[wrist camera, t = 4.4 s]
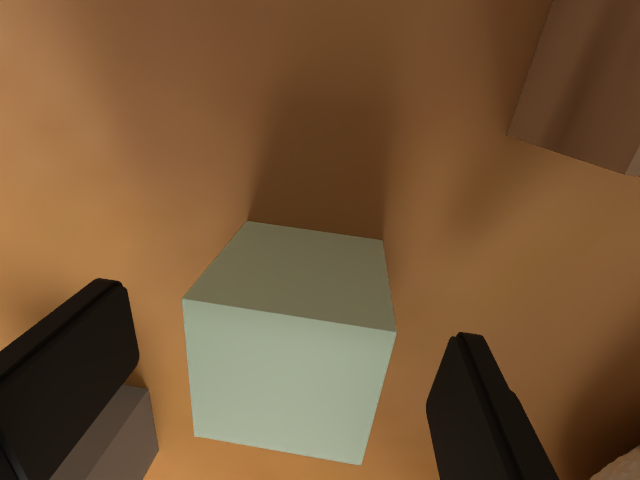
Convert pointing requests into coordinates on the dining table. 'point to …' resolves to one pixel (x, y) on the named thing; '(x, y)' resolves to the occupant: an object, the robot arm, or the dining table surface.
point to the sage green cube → (290, 341)
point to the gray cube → (115, 441)
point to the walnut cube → (585, 85)
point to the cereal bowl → (622, 467)
